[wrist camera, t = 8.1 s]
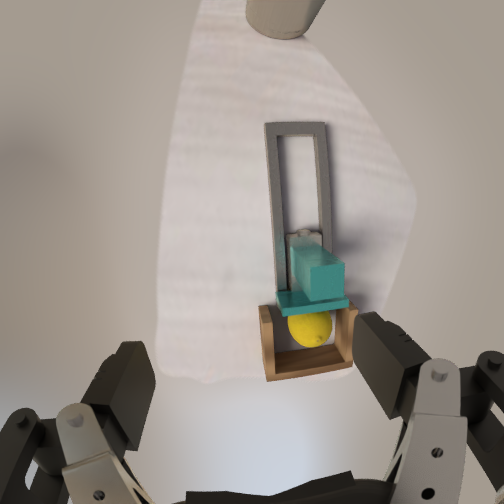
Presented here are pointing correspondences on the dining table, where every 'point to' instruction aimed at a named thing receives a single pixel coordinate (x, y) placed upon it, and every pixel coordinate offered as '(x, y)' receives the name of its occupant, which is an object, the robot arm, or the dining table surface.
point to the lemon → (310, 328)
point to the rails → (275, 188)
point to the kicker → (311, 277)
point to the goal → (312, 358)
